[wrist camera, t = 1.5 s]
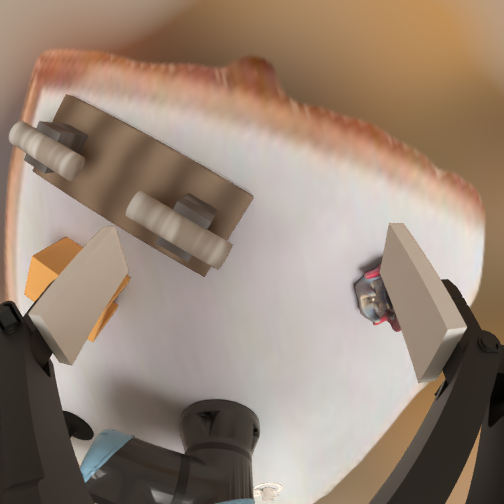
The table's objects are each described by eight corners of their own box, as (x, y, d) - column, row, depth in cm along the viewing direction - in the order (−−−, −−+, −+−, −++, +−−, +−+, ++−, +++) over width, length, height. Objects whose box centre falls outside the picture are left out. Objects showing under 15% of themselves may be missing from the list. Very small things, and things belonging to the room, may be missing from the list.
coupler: (130, 277, 41) (106, 306, 32) (116, 309, 43) (92, 342, 34) (66, 236, 39) (32, 256, 30) (56, 270, 40) (24, 294, 32)
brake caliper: (337, 277, 40) (413, 285, 30) (372, 243, 45) (438, 245, 36) (351, 337, 43) (418, 353, 34) (383, 299, 48) (442, 308, 39)
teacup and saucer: (247, 492, 62) (247, 504, 58) (251, 481, 59) (252, 493, 55) (279, 493, 62) (280, 504, 58) (285, 481, 60) (287, 493, 56)
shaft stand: (252, 196, 38) (256, 209, 28) (206, 271, 41) (195, 307, 31) (72, 96, 33) (30, 84, 23) (40, 169, 35) (-5, 177, 25)
